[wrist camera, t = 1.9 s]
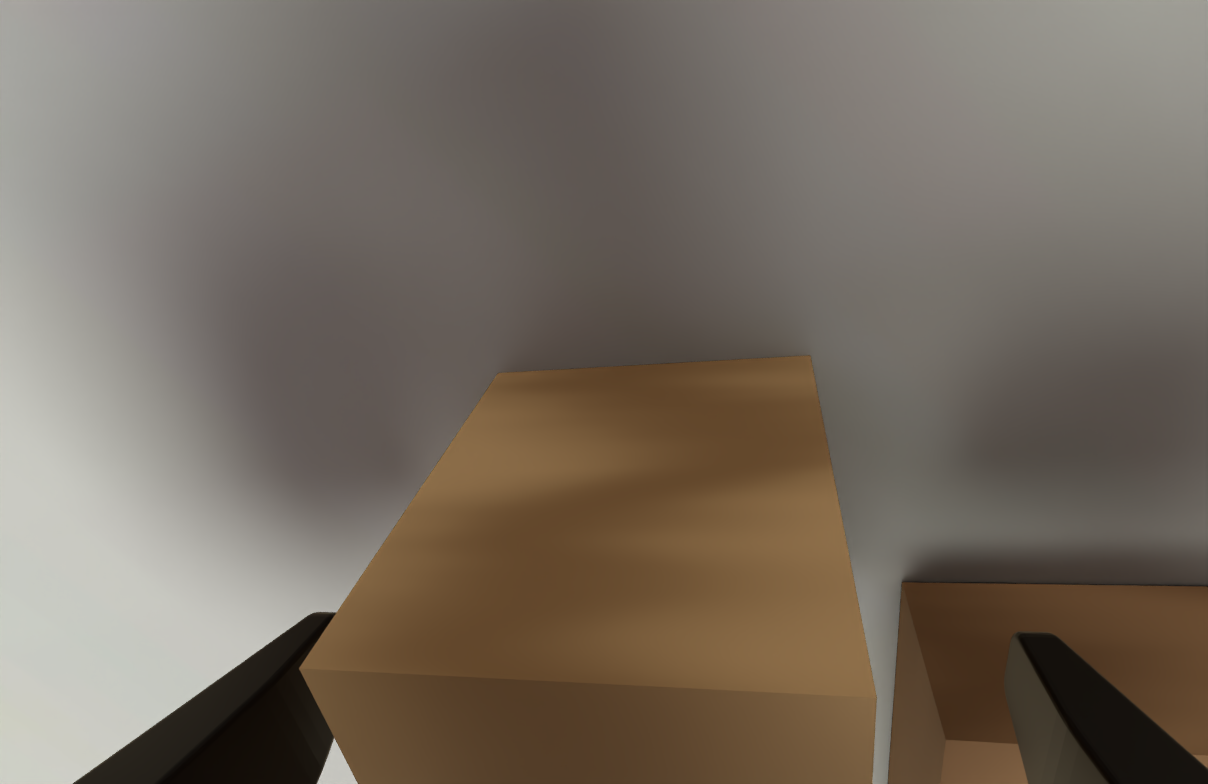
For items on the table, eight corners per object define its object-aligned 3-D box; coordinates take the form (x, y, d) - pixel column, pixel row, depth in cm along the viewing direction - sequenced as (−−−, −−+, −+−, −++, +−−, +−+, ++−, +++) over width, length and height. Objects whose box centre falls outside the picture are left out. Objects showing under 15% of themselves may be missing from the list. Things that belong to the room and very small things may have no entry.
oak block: (810, 354, 10) (876, 697, 5) (812, 598, 13) (860, 1004, 7) (499, 371, 11) (298, 667, 6) (553, 592, 14) (439, 942, 9)
